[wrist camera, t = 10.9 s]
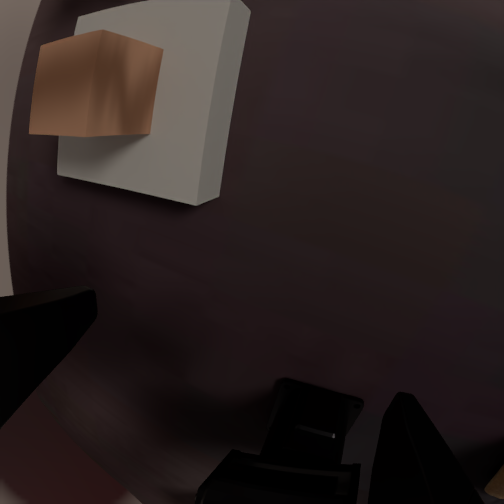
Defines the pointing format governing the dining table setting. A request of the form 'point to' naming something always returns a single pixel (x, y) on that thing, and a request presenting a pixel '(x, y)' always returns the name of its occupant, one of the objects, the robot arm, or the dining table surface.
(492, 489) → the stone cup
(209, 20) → the grey base
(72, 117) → the terracotta cube
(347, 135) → the dining table surface
